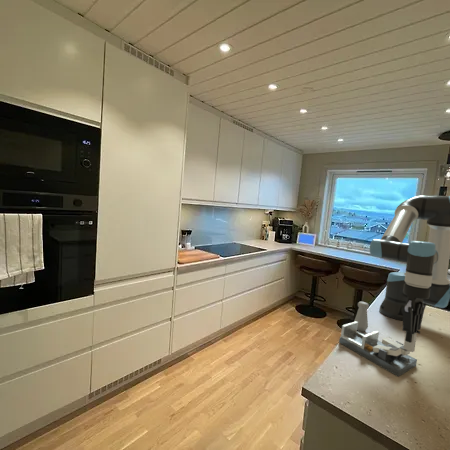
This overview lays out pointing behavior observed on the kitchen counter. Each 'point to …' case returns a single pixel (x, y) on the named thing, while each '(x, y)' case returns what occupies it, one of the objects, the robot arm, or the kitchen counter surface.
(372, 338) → the grey mechanical fixture
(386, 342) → the rocker
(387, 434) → the kitchen counter surface
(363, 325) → the salt shaker
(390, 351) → the rocker
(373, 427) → the kitchen counter surface
